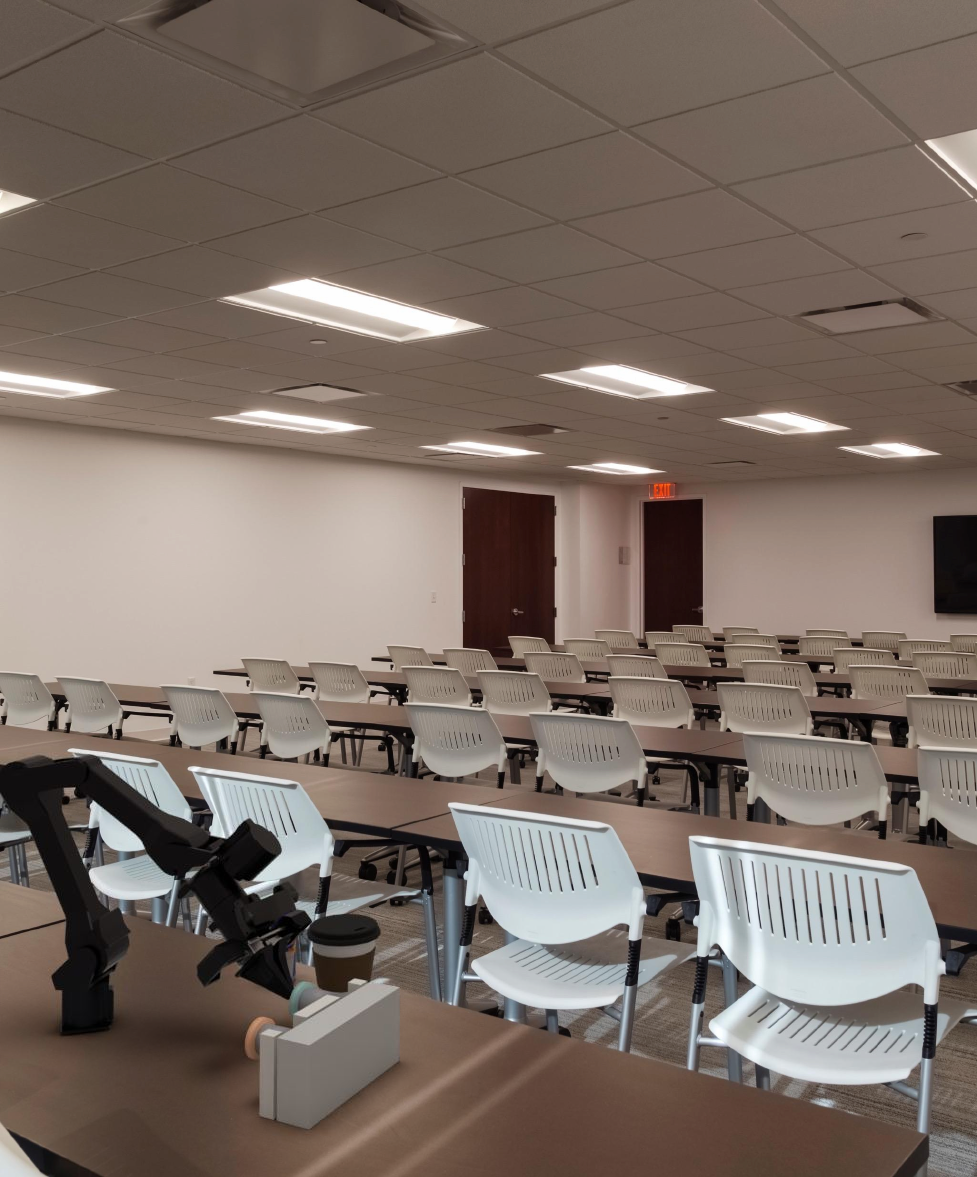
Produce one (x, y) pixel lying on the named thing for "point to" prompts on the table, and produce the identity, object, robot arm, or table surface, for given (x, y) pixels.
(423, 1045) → the table surface
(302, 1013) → the button panel
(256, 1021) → the terracotta button
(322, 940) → the coffee cup
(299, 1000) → the teal button
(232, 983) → the table surface
